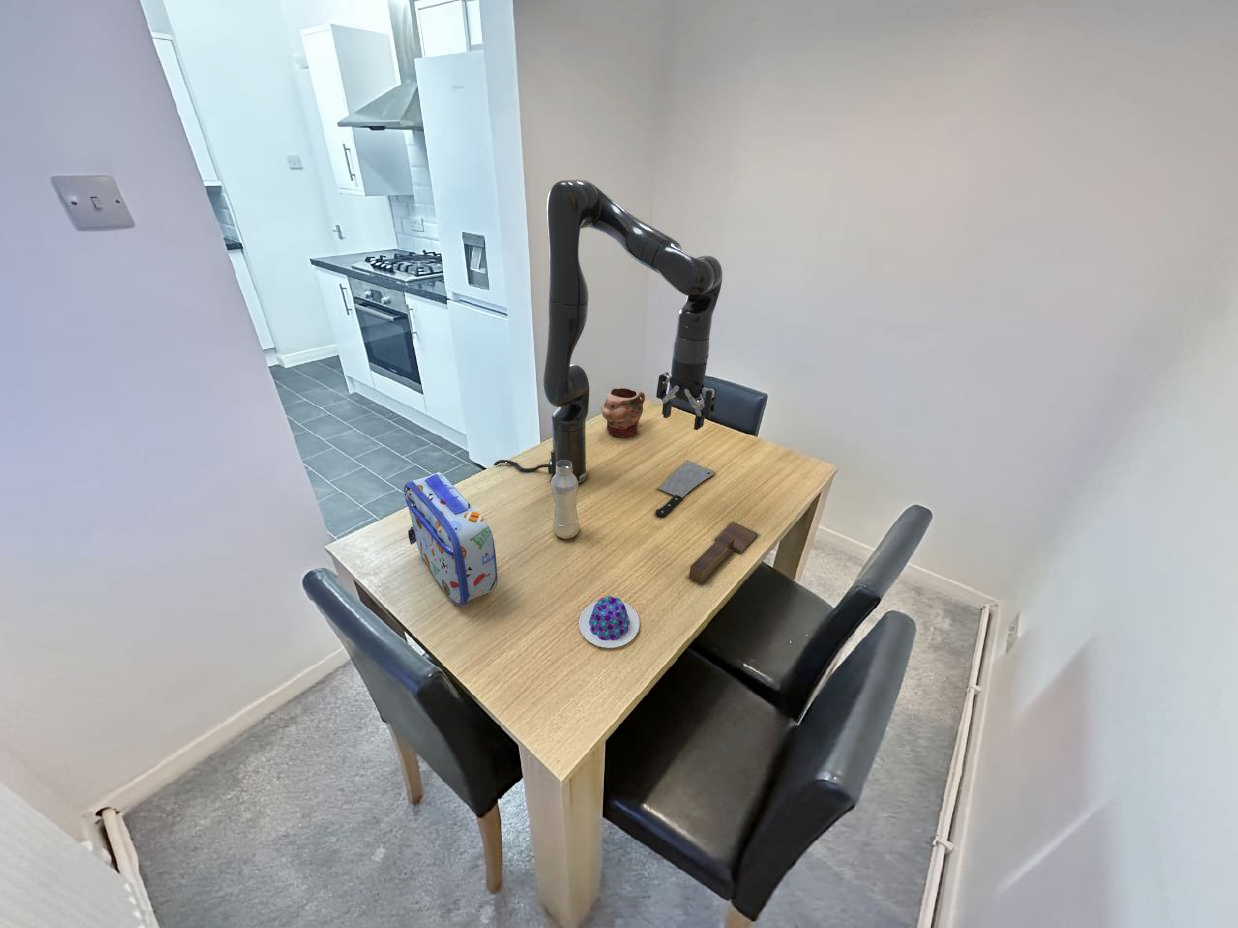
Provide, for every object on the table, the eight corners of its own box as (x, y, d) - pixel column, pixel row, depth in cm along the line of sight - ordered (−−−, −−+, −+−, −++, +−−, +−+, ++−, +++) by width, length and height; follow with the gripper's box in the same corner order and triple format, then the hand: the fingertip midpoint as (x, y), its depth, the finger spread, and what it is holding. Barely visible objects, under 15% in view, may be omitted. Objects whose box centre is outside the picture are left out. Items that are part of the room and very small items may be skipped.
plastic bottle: (559, 545, 117) (556, 474, 107) (549, 529, 122) (545, 460, 112) (584, 537, 120) (583, 468, 109) (573, 522, 125) (571, 454, 114)
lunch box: (407, 549, 114) (386, 470, 103) (449, 531, 120) (434, 454, 109) (461, 621, 97) (444, 535, 85) (507, 596, 103) (497, 512, 91)
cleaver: (632, 505, 131) (664, 519, 126) (633, 503, 131) (664, 517, 126) (686, 461, 152) (715, 472, 147) (686, 460, 152) (716, 471, 147)
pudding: (612, 592, 104) (613, 574, 102) (652, 627, 97) (653, 609, 94) (566, 621, 98) (566, 603, 95) (605, 661, 90) (605, 642, 87)
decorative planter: (627, 414, 179) (628, 379, 172) (654, 424, 173) (657, 387, 166) (592, 434, 166) (592, 396, 158) (621, 445, 159) (622, 406, 152)
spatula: (708, 588, 106) (710, 576, 104) (681, 573, 110) (682, 561, 108) (757, 535, 122) (759, 523, 120) (732, 523, 126) (734, 512, 124)
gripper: (653, 352, 107) (647, 418, 116) (709, 369, 100) (699, 439, 108) (672, 344, 112) (666, 408, 121) (727, 360, 105) (716, 427, 113)
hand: (681, 422), depth 114 cm, fingers open, 8 cm apart
